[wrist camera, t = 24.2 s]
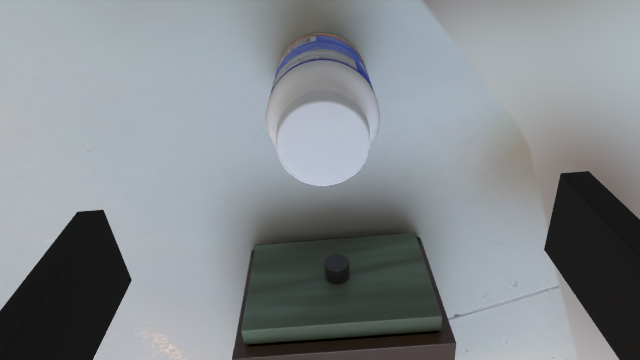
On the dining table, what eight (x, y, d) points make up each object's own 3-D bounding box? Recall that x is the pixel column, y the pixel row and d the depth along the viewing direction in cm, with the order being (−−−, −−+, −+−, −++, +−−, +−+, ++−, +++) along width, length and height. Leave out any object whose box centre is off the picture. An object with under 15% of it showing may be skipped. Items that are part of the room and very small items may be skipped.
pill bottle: (359, 121, 29) (379, 206, 20) (274, 115, 28) (258, 199, 20) (371, 33, 26) (400, 89, 18) (277, 26, 26) (260, 79, 17)
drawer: (252, 231, 32) (236, 315, 25) (415, 218, 31) (443, 300, 25) (279, 367, 39) (273, 461, 32) (411, 358, 39) (432, 451, 32)
